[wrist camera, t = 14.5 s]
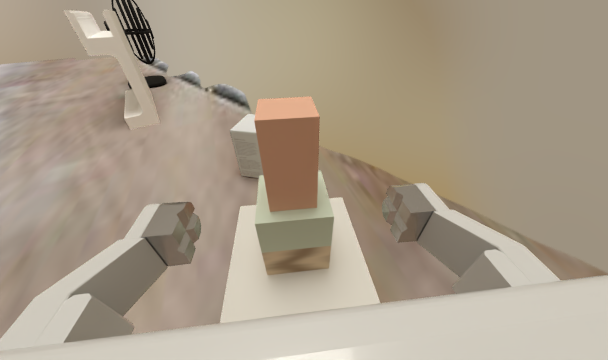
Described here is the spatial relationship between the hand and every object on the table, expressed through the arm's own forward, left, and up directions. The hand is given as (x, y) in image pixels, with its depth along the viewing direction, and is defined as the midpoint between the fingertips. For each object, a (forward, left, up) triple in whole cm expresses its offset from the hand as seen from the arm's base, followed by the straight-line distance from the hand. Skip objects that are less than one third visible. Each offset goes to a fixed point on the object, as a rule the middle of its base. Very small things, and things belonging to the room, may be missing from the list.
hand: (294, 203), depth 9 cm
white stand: (-89, -18, -21) cm, 93 cm away
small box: (-33, +7, -21) cm, 39 cm away
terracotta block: (-11, +5, -10) cm, 15 cm away
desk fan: (-129, -17, -21) cm, 132 cm away
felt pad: (-11, +5, -20) cm, 24 cm away
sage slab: (-11, +5, -15) cm, 19 cm away
